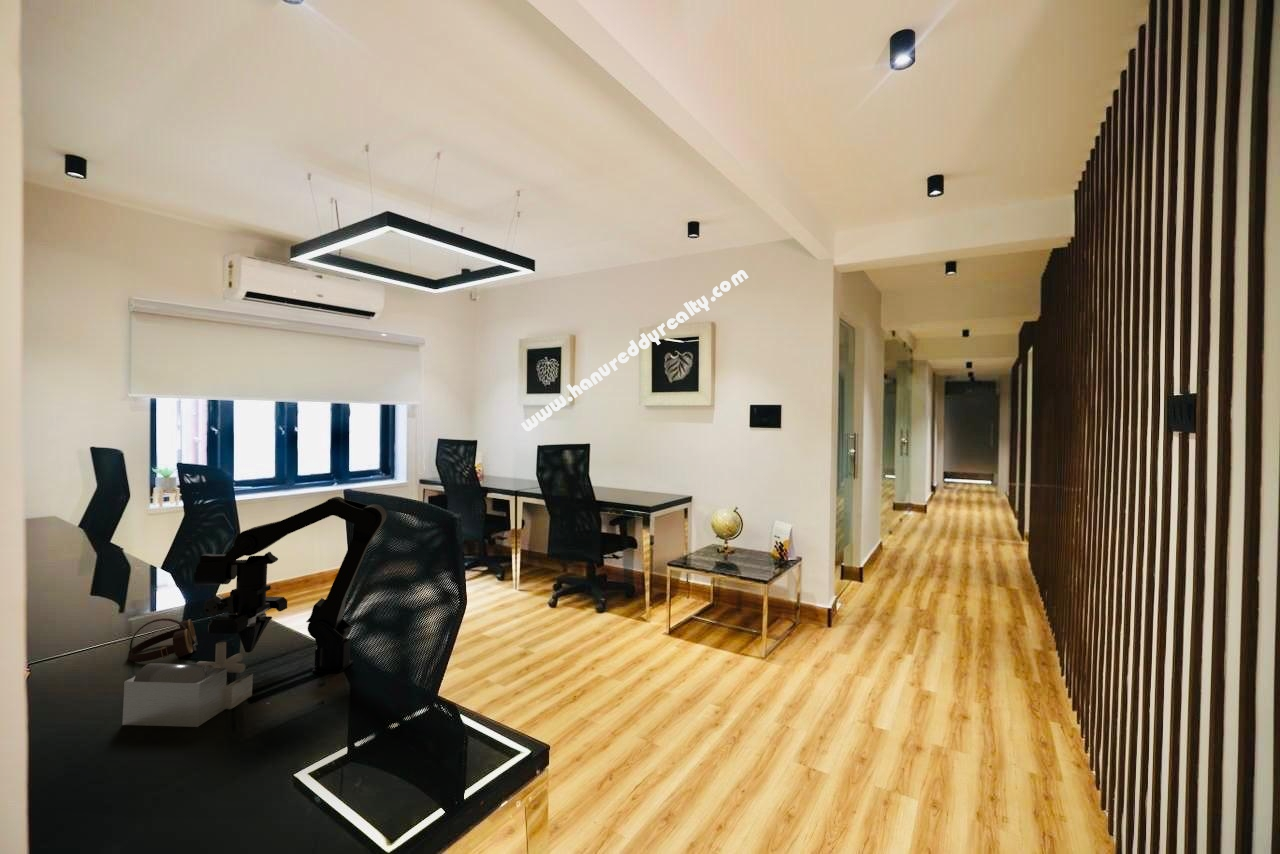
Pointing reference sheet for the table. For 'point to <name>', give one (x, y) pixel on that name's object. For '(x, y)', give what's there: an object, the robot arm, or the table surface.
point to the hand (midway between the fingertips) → (248, 651)
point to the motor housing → (180, 694)
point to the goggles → (180, 636)
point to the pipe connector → (225, 660)
